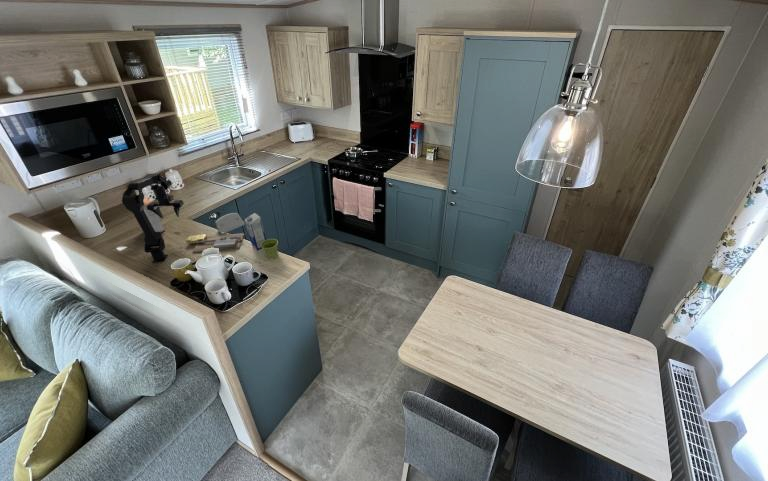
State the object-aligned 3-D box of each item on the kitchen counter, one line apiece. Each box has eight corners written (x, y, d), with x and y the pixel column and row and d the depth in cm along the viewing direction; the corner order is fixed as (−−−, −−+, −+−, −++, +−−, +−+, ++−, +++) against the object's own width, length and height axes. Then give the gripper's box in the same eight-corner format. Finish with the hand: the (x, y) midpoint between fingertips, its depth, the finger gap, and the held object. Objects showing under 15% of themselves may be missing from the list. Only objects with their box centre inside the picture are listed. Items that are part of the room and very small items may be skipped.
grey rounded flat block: (221, 234, 216) (214, 219, 213) (218, 234, 219) (211, 219, 216) (245, 224, 226) (239, 210, 223) (242, 224, 230) (236, 210, 226)
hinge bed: (238, 248, 202) (237, 243, 200) (193, 253, 199) (190, 247, 197) (244, 234, 215) (242, 229, 213) (201, 238, 213) (199, 233, 211)
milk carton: (267, 245, 204) (260, 216, 193) (257, 250, 200) (249, 220, 189) (262, 241, 208) (254, 212, 197) (251, 245, 204) (243, 216, 193)
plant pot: (284, 255, 195) (281, 242, 190) (269, 263, 189) (266, 250, 184) (275, 249, 200) (271, 236, 196) (260, 256, 194) (257, 244, 190)
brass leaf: (204, 242, 206) (202, 238, 205) (186, 243, 205) (185, 240, 204) (207, 237, 211) (205, 233, 210) (190, 238, 210) (188, 235, 209)
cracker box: (147, 227, 226) (134, 199, 215) (157, 223, 230) (144, 195, 218) (155, 234, 218) (142, 205, 207) (165, 230, 222) (152, 201, 211)
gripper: (182, 187, 208) (190, 210, 217) (150, 189, 206) (159, 212, 215) (175, 194, 199) (184, 218, 207) (141, 197, 197) (152, 221, 205)
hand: (170, 217), depth 209 cm, fingers open, 9 cm apart
